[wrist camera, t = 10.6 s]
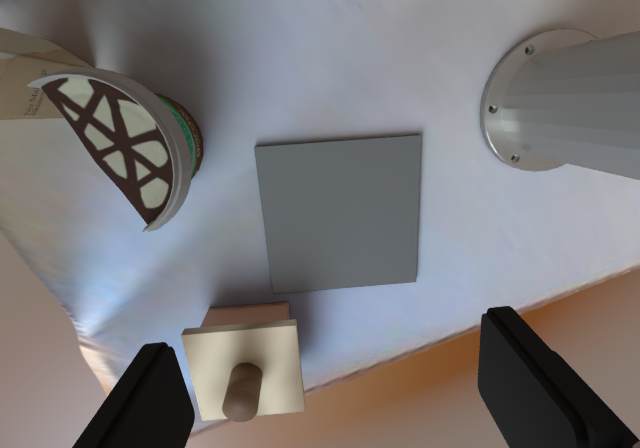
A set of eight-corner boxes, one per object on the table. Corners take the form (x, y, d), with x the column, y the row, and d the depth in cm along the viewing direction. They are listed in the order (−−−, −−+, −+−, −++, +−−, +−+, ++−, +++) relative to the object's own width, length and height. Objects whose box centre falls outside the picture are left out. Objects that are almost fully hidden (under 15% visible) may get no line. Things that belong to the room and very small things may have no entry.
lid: (296, 319, 34) (295, 354, 29) (304, 403, 38) (305, 446, 33) (184, 328, 33) (165, 365, 29) (204, 412, 37) (190, 457, 32)
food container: (241, 171, 34) (218, 198, 24) (189, 200, 34) (147, 238, 25) (164, 48, 30) (100, 23, 20) (107, 84, 30) (19, 76, 21)
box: (76, 119, 31) (-36, 127, 21) (28, 91, 30) (-116, 86, 20) (98, 66, 30) (-11, 47, 19) (48, 35, 29) (-95, -2, 18)
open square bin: (288, 301, 39) (286, 329, 34) (295, 364, 42) (294, 397, 37) (208, 308, 39) (195, 336, 34) (221, 371, 42) (211, 405, 37)
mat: (419, 134, 33) (421, 135, 33) (414, 279, 39) (415, 281, 38) (255, 146, 33) (254, 147, 32) (273, 291, 38) (273, 293, 38)
